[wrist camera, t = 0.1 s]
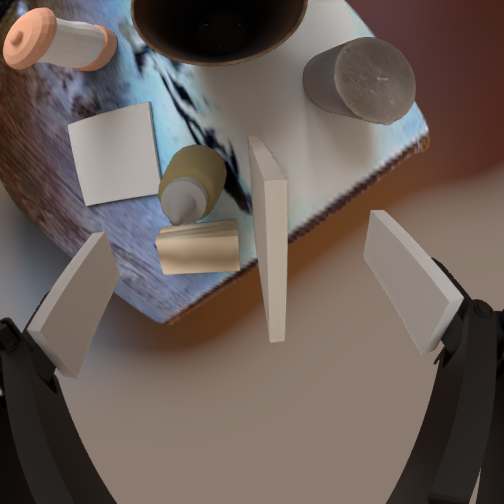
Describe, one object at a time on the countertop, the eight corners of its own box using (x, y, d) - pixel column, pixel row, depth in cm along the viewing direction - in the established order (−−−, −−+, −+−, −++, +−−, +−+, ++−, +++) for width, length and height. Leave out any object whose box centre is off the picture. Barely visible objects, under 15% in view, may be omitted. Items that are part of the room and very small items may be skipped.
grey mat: (71, 124, 31) (67, 125, 30) (150, 101, 32) (148, 101, 31) (88, 203, 39) (86, 205, 38) (163, 190, 39) (162, 193, 38)
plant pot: (286, -2, 24) (317, -50, 11) (269, 86, 32) (294, 78, 18) (180, -11, 22) (152, -61, 9) (162, 77, 30) (117, 66, 16)
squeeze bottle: (162, 170, 37) (116, 224, 22) (197, 129, 35) (168, 154, 19) (202, 202, 41) (184, 274, 26) (238, 165, 38) (243, 217, 23)
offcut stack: (160, 224, 42) (151, 241, 38) (237, 216, 42) (237, 233, 38) (168, 258, 46) (162, 277, 41) (240, 252, 46) (241, 271, 41)
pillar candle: (349, 46, 28) (404, 29, 16) (372, 103, 33) (433, 115, 21) (290, 62, 30) (321, 44, 18) (317, 122, 35) (359, 139, 22)
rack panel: (247, 135, 36) (264, 180, 17) (258, 135, 36) (287, 179, 17) (254, 234, 44) (269, 342, 26) (263, 233, 44) (284, 341, 26)
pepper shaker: (110, 20, 23) (35, -11, 7) (123, 55, 27) (44, 37, 11) (72, 45, 24) (-12, 37, 8) (83, 79, 28) (-4, 86, 12)
